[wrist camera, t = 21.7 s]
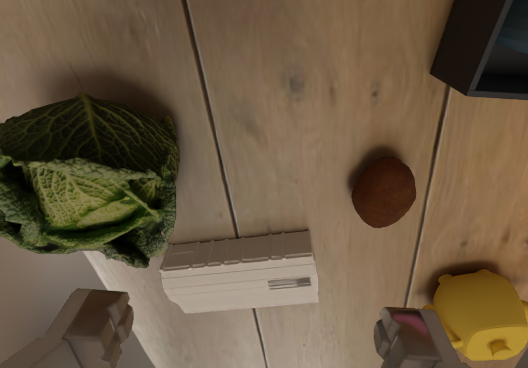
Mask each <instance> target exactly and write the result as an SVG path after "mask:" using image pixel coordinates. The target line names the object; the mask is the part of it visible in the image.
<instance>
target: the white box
mask: <svg viewBox="0 0 528 368" xmlns="http://www.w3.org/2000/svg"><path fill="white" fill-rule="evenodd" d="M159 271H160V273H161V276H162V278H160V280H162V285H163V290H164V291H165V293H166V297H168V298H169V299H170V302H174V303H176V304H178V305H179V306H180V308H181V309H182V310H183V312H184V313H186V314H188V313H200V312H211V311H223V310H235V309H247V308H258V307H270V306H282V305H293V304H305V303H317V302H319V301H318V293H317V291H319V288H318V279H317V272H316V264H315V257H314V254H312V247H311V240H310V233H309V230H307V231H303V232H294V233H285V232H281V234H276V235H272V233H270V234H268V235H267V236H258V237H249V238H245V236H244V237H242V238H241V239H232V240H229V238H226V239H225V240H223V241H214V240H211V241H210V242H205V243H200V242H195V243H186V244H178V245H173V244H169V247H168V249H167V252H166V254H165V257H164V259H163V262H162V264H161V267H160V269H159Z"/></svg>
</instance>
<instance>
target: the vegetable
mask: <svg viewBox="0 0 528 368" xmlns="http://www.w3.org/2000/svg"><path fill="white" fill-rule="evenodd" d="M179 162H180V151H179V145H178V141H177V137H176V133H175V128H174V124H173V122H172V120H171V118H170V116H168V117H165V118H164V119H162V120H158V119H157V118H156V117H154V116H152V115H151V114H148V113H146V112H143V111H140V110H138V109H136V108H134V107H131V106H129V105H127V104H123V103H117V102H111V101H105V100H99V99H95V98H93V97H91V96H89V95H87V94H85V93H84V92H83V93H79V94H78V95H77V96H76V97H75V98H73V99H69V100H65V101H61V102H57V103H53V104H50V105H46V106H42V107H39V108H35V109H32V110H30V111H28V112H26V113H24V114H23V115H21V116H19V117H14V116H13V117H11V118H10V119H7V120H6V122H5V123H1V124H0V237H5V238H7V239H8V240H10V241H12V242H13V243H15V244H16V245H18V246H19V248H23V249H27V250H29V251H32V252H35V253H38V254H69V253H72V252H76V251H100V252H102V253H103V254H104V255H105V256H106V259H110V258H112V259H115V260H118V261H122V262H125V263H126V264H127V265H128V266H132V267H135V268H140V267H141V268H147V267H148V266H149V264H148V263H149V261H150V257H157V256H159V255H164V254H165V253H166V252H167V249H168V247H169V244H168V242H167V241H168V239H169V237H170V234H171V233H172V232H173V231H174V223H175V220H176V186H175V181H176V179H177V176H178V171H179ZM168 227H169V228H168ZM161 231H162V232H164V234H165V236H162V235H161ZM160 236H161V237H160ZM159 237H160V238H159ZM161 241H162V242H161Z"/></svg>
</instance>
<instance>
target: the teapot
mask: <svg viewBox="0 0 528 368" xmlns="http://www.w3.org/2000/svg"><path fill="white" fill-rule="evenodd" d="M438 282H439V283H440V285H439V286H438V288H437V290H436V292H435V295H434V299H433V305H431V304H428V305H425V306H424V307H423V309H430V310H434V311H435V312H436V313H437V315H438V317H439V319H440V321H441V323H442V325H443V327H444V329H445V332H446V334H447V336H448V338H449V340H450V342H451V344H452V346H453V348H457V349H458V350H459V351H460V352H461V353H463V354H464V355H465V356H466V357H467V358H469V359H471V360H475V361H482V360H495V359H496V360H504V359H508V358H510V357H513V356H515V355H517V354H518V353H519V352H520V351H521V350H522V349H523V348H524V346H525V345H526V343H527V340H528V324H527V322H528V302H526V301H523V300H520V298H519V296H518V294H517V292H516V290H515V288H514V287H513V285H512V284H511V283H510V282H509V281H508V280H507V279H506V278H504V277H502V276H500V275H497V274H495V273H491V272H489V271H488V270H486V269H483V270H479V271H477V272H476V273H469V274H463V275H458V276H452V275H449V274H446V275H442V276H440V277H439V279H438Z"/></svg>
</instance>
